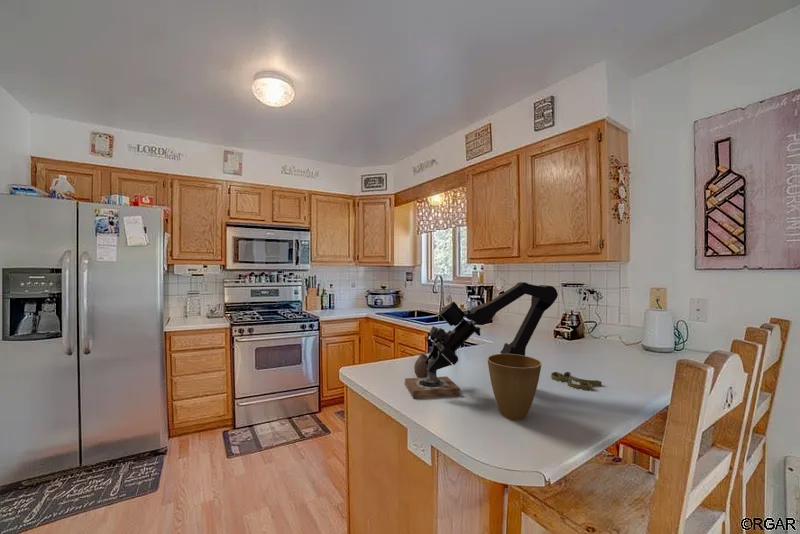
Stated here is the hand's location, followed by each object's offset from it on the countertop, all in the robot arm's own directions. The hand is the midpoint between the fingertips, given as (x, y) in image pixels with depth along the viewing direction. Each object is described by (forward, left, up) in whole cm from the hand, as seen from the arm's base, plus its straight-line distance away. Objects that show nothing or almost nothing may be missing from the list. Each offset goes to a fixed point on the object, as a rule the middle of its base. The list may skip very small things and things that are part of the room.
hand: (427, 367), depth 121 cm
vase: (-2, -15, -8) cm, 17 cm away
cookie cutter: (-57, 0, -9) cm, 58 cm away
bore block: (-1, 0, -8) cm, 8 cm away
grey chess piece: (-2, 0, -8) cm, 8 cm away
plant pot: (-19, +24, -8) cm, 32 cm away
